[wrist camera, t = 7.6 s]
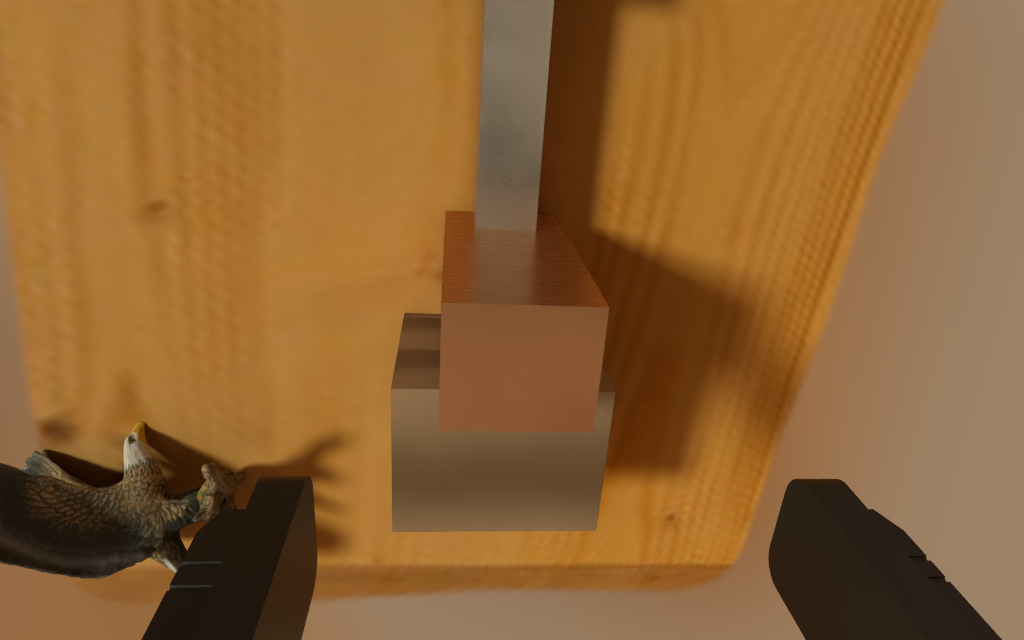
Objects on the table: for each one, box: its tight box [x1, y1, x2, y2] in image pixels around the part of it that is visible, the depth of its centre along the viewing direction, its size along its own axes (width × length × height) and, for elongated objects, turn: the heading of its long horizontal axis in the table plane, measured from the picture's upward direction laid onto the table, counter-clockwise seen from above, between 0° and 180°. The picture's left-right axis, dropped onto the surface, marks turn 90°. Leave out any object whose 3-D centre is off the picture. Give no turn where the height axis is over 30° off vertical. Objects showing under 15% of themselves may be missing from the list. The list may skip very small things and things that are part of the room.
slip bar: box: [438, 0, 610, 432], centre depth 19 cm, size 18×4×9 cm, turn 176°
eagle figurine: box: [0, 422, 245, 579], centre depth 25 cm, size 8×7×9 cm
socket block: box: [391, 313, 616, 532], centre depth 24 cm, size 6×7×6 cm
